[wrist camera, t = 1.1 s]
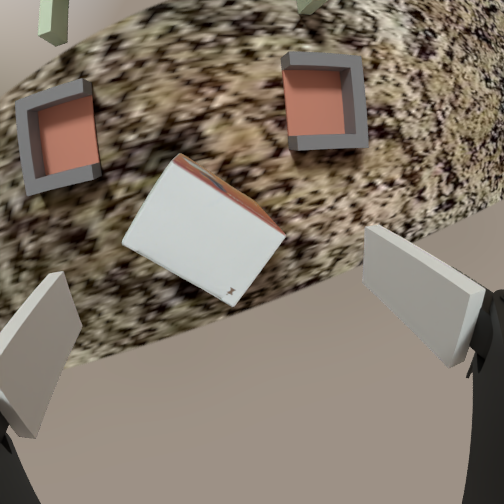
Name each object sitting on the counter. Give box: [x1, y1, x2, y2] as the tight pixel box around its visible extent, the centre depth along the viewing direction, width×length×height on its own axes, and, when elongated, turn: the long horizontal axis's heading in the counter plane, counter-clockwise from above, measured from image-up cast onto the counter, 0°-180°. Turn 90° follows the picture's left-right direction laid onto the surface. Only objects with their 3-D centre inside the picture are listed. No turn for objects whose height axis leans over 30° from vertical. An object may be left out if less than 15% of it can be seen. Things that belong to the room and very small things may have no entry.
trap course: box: [15, 0, 369, 196], centre depth 20 cm, size 30×20×4 cm
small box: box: [122, 153, 286, 307], centre depth 22 cm, size 8×6×10 cm
